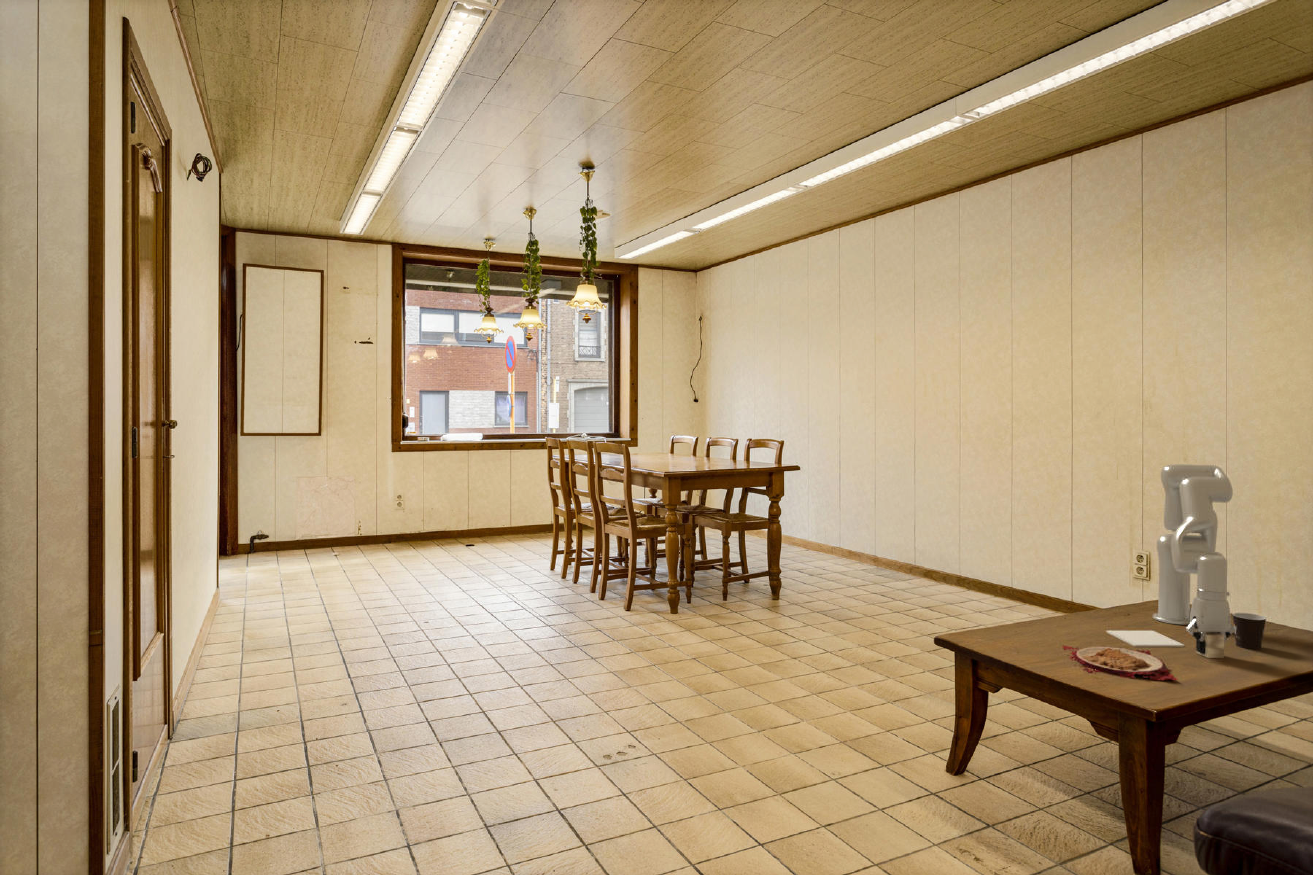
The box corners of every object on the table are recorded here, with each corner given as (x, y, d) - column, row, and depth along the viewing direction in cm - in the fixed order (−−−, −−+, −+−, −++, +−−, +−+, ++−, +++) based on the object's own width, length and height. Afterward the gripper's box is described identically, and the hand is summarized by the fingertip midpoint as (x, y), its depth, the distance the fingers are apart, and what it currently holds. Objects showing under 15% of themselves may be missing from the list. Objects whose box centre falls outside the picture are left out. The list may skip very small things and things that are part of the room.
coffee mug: (1260, 652, 243) (1260, 621, 243) (1227, 645, 250) (1228, 615, 250) (1272, 645, 250) (1273, 615, 250) (1240, 639, 257) (1241, 609, 257)
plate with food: (1149, 657, 242) (1149, 645, 242) (1177, 683, 217) (1177, 671, 217) (1062, 650, 249) (1062, 639, 249) (1080, 675, 224) (1080, 663, 224)
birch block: (1212, 652, 243) (1212, 630, 243) (1223, 657, 238) (1224, 635, 238) (1196, 652, 243) (1196, 630, 243) (1207, 657, 238) (1208, 635, 238)
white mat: (1152, 632, 265) (1152, 630, 265) (1184, 646, 249) (1184, 644, 249) (1106, 632, 266) (1106, 630, 266) (1134, 646, 250) (1134, 644, 250)
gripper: (1230, 592, 243) (1228, 648, 244) (1176, 592, 244) (1174, 648, 244) (1248, 598, 236) (1246, 656, 237) (1192, 598, 236) (1190, 656, 237)
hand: (1209, 652), depth 241 cm, fingers closed on birch block, 5 cm apart
